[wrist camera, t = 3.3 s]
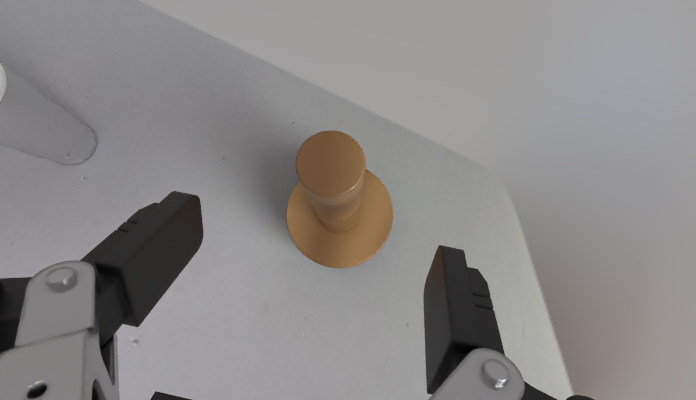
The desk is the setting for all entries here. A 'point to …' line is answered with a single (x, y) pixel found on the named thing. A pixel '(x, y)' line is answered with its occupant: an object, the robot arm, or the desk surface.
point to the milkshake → (40, 124)
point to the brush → (337, 203)
